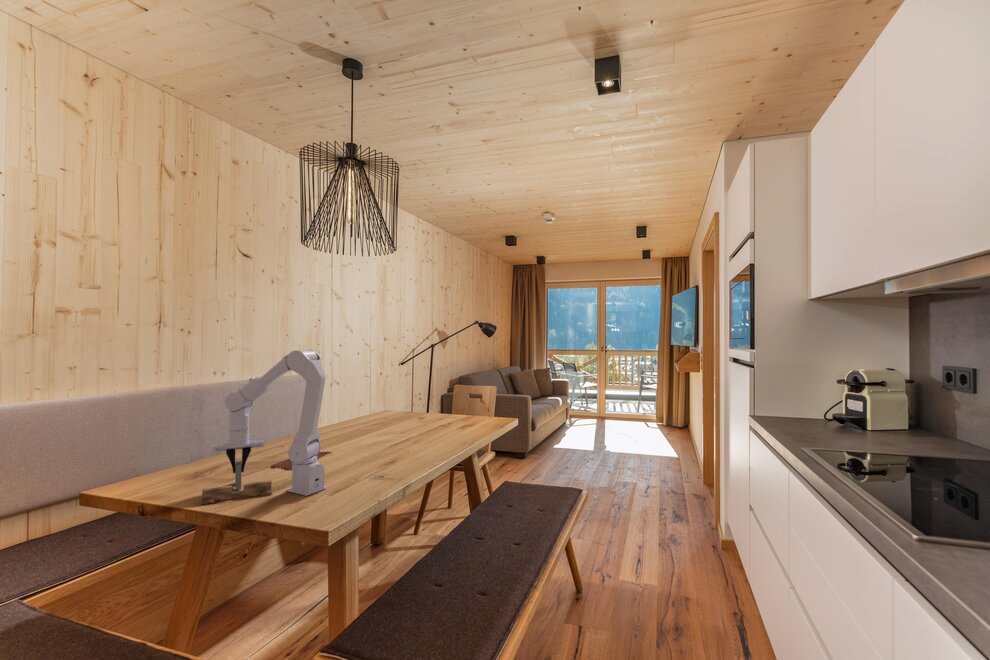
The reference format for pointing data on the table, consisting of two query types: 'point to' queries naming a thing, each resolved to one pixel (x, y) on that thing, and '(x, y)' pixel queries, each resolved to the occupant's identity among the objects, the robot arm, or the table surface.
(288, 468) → the wooden tablet
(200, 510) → the table surface
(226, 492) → the walnut slotted stand
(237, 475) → the grey long rectangular block
